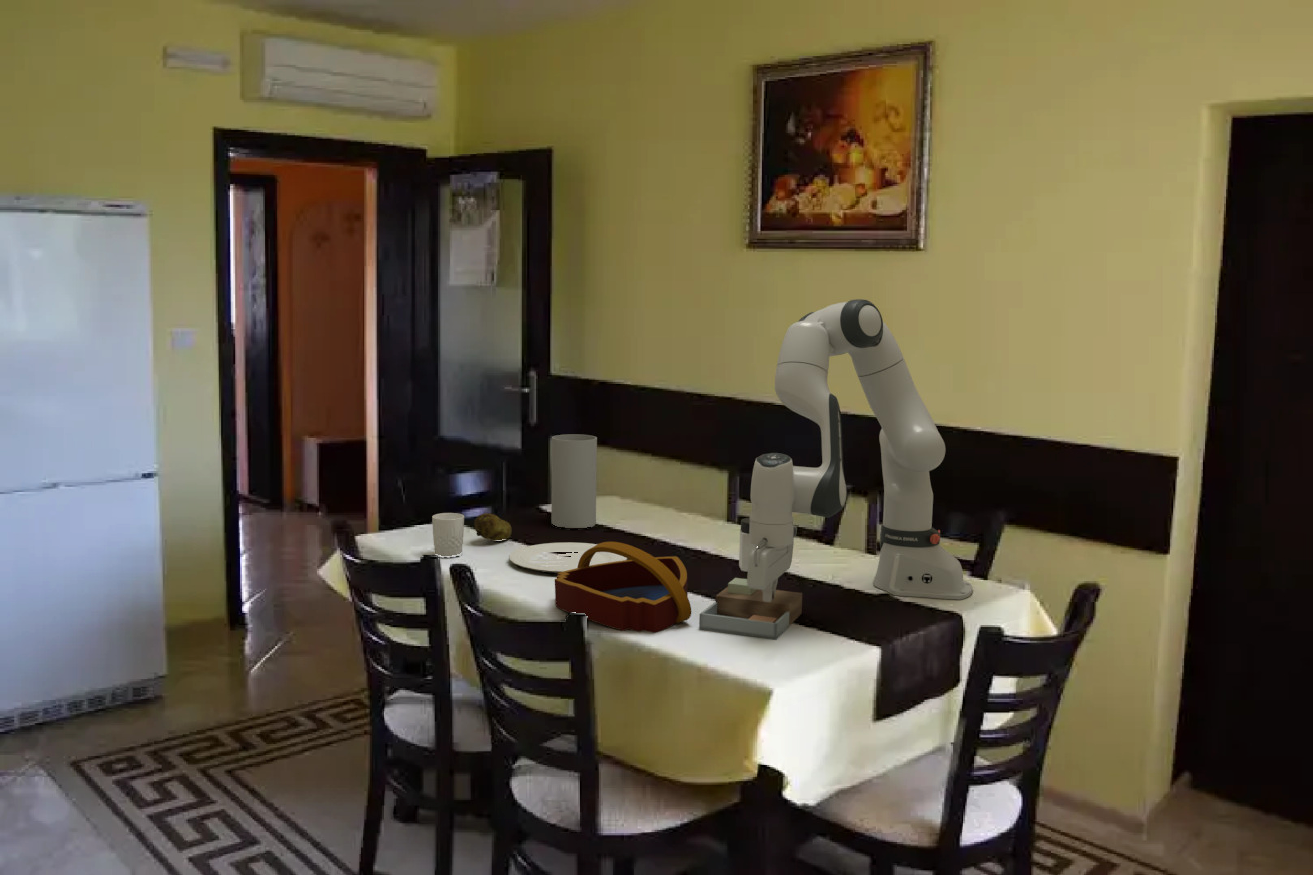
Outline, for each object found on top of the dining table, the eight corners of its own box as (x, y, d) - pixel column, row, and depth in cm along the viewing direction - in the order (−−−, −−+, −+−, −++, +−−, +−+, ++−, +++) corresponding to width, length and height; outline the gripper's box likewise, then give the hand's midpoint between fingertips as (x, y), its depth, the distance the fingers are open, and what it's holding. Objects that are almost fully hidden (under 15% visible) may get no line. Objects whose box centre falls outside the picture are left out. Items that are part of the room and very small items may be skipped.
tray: (788, 626, 243) (789, 611, 242) (776, 639, 234) (776, 624, 234) (714, 616, 249) (714, 602, 248) (699, 629, 240) (699, 613, 240)
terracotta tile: (769, 624, 235) (769, 634, 236) (776, 617, 240) (776, 627, 240) (745, 621, 237) (745, 630, 238) (753, 614, 242) (752, 624, 242)
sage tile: (757, 589, 254) (757, 580, 254) (750, 595, 249) (750, 586, 249) (735, 586, 256) (735, 577, 255) (727, 592, 251) (728, 583, 251)
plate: (651, 564, 293) (652, 556, 293) (564, 585, 272) (564, 577, 272) (571, 543, 313) (571, 536, 313) (484, 562, 292) (484, 554, 291)
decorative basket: (531, 611, 259) (523, 546, 255) (636, 572, 276) (630, 511, 272) (624, 655, 233) (617, 583, 229) (734, 609, 250) (728, 542, 246)
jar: (751, 575, 283) (753, 525, 282) (731, 567, 290) (732, 519, 288) (781, 570, 288) (782, 522, 286) (760, 563, 295) (761, 515, 293)
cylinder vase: (599, 529, 329) (600, 440, 325) (554, 530, 326) (555, 441, 323) (592, 520, 341) (593, 434, 337) (548, 521, 338) (549, 434, 335)
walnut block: (801, 613, 252) (802, 593, 252) (788, 626, 243) (789, 605, 243) (730, 604, 258) (730, 584, 258) (715, 616, 249) (715, 595, 248)
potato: (523, 540, 314) (523, 510, 313) (485, 548, 305) (485, 517, 304) (503, 535, 320) (503, 506, 319) (465, 542, 311) (465, 512, 310)
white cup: (426, 556, 295) (425, 517, 293) (443, 550, 302) (443, 511, 301) (453, 560, 292) (453, 520, 290) (470, 553, 299) (470, 514, 298)
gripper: (771, 546, 230) (769, 615, 232) (799, 526, 249) (796, 589, 251) (740, 543, 232) (738, 611, 234) (770, 523, 251) (768, 586, 253)
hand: (768, 600), depth 242 cm, fingers closed
